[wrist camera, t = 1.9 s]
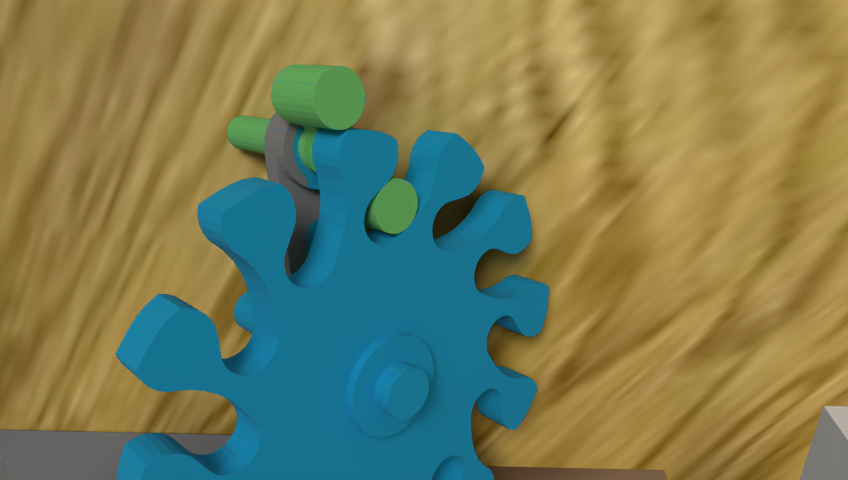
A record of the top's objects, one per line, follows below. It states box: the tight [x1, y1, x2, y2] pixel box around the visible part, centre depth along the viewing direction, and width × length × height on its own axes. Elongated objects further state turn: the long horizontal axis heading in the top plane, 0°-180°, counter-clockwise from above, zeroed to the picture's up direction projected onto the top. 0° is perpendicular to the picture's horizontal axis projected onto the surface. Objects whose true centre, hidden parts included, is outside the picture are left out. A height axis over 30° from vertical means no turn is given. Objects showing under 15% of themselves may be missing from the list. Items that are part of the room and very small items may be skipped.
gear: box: [116, 65, 549, 480], centre depth 15 cm, size 11×6×10 cm
